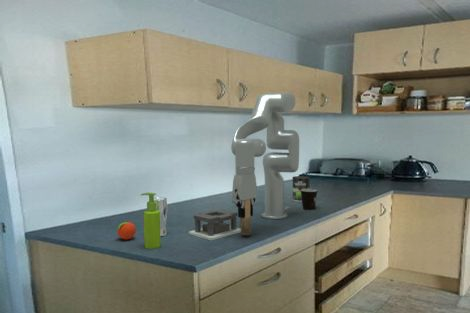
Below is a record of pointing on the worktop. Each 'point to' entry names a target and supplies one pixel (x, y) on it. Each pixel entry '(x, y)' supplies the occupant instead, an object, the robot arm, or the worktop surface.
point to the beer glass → (162, 214)
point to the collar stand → (215, 224)
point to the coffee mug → (308, 199)
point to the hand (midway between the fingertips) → (245, 215)
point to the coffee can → (300, 186)
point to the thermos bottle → (246, 219)
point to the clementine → (126, 230)
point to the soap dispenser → (151, 224)
